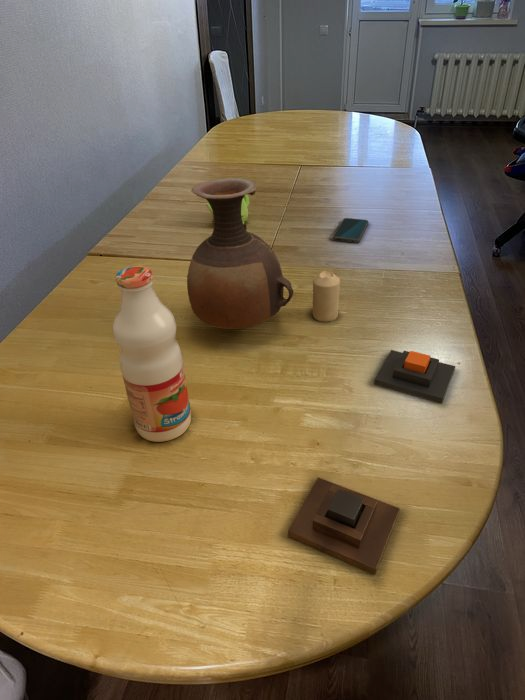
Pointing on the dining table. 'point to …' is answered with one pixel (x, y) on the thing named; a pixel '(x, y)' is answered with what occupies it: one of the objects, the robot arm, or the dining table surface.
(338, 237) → the smartphone
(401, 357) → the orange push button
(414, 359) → the enter key
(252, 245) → the vase
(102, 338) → the dining table surface
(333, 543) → the brown flat stepped block
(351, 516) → the rocker switch
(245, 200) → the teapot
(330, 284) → the candle
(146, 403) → the fruit juice
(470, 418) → the dining table surface
